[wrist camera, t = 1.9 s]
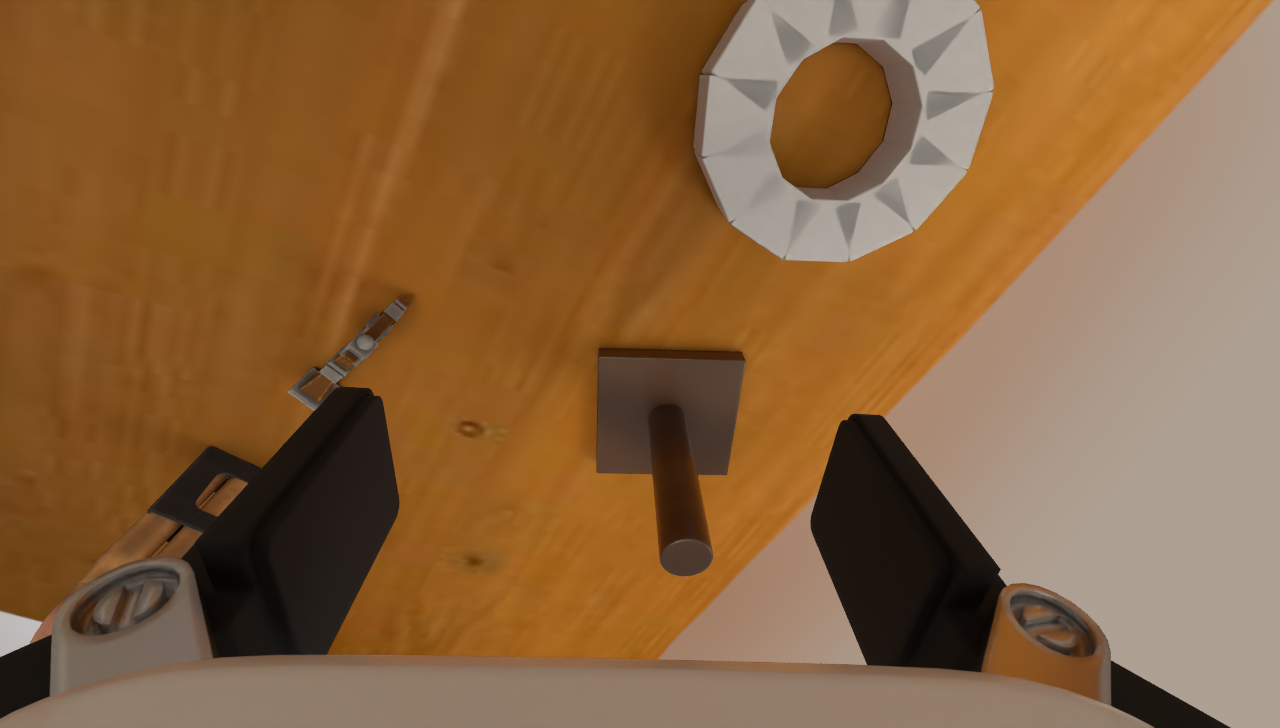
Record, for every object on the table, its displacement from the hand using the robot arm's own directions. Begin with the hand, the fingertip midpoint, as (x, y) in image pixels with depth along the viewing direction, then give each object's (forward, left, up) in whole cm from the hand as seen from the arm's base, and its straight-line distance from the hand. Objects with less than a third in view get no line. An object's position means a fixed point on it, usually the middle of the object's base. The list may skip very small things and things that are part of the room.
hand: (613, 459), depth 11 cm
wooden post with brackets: (+6, -14, -18) cm, 23 cm away
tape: (-6, +9, -18) cm, 21 cm away
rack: (+10, +3, -18) cm, 21 cm away
